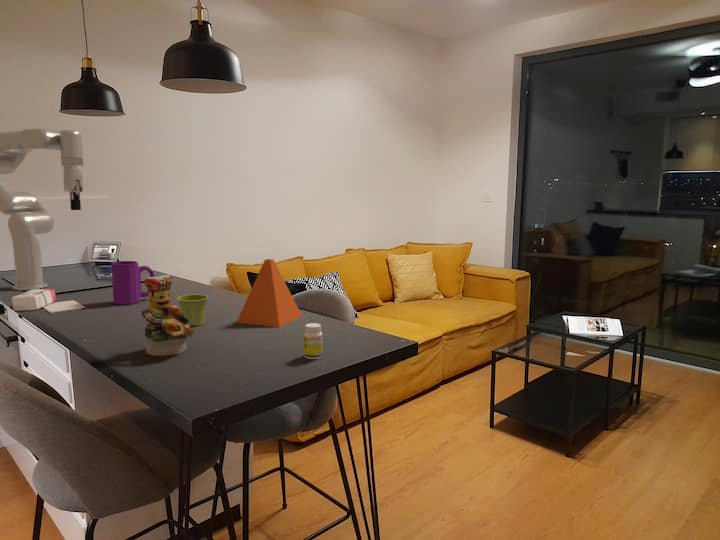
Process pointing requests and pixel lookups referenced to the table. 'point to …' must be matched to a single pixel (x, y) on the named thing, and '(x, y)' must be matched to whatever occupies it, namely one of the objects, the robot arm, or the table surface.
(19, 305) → the ink box
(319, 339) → the supplement bottle
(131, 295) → the mug
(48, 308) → the mat
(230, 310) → the table surface
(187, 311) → the plant pot
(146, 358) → the table surface
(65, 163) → the robot arm
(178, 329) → the figurine
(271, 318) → the pyramid
